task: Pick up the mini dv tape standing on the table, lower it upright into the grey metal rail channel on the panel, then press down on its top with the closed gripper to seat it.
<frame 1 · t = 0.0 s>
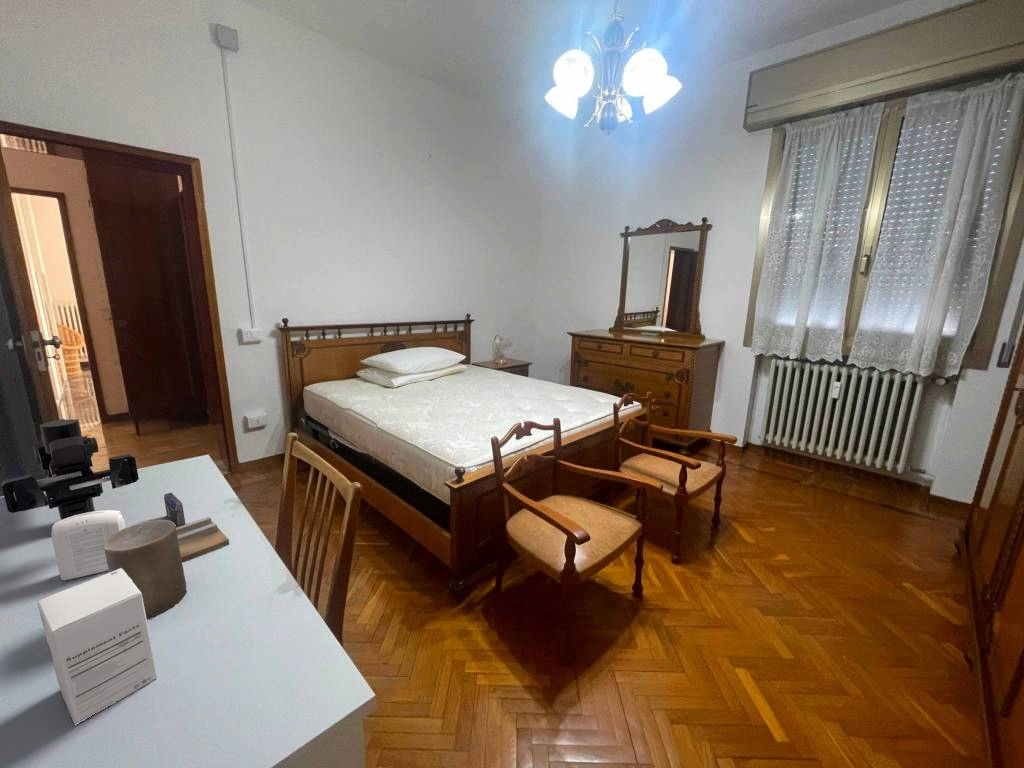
hand: (81, 494, 80), 17 cm above the table, tool horizontal, fingers open, 9 cm apart
supplement box: (110, 685, 60), on the table
pillar candle: (153, 601, 76), on the table
rail panel: (187, 543, 93), on the table
mini dv tape: (176, 521, 102), on the table
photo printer: (97, 570, 84), on the table
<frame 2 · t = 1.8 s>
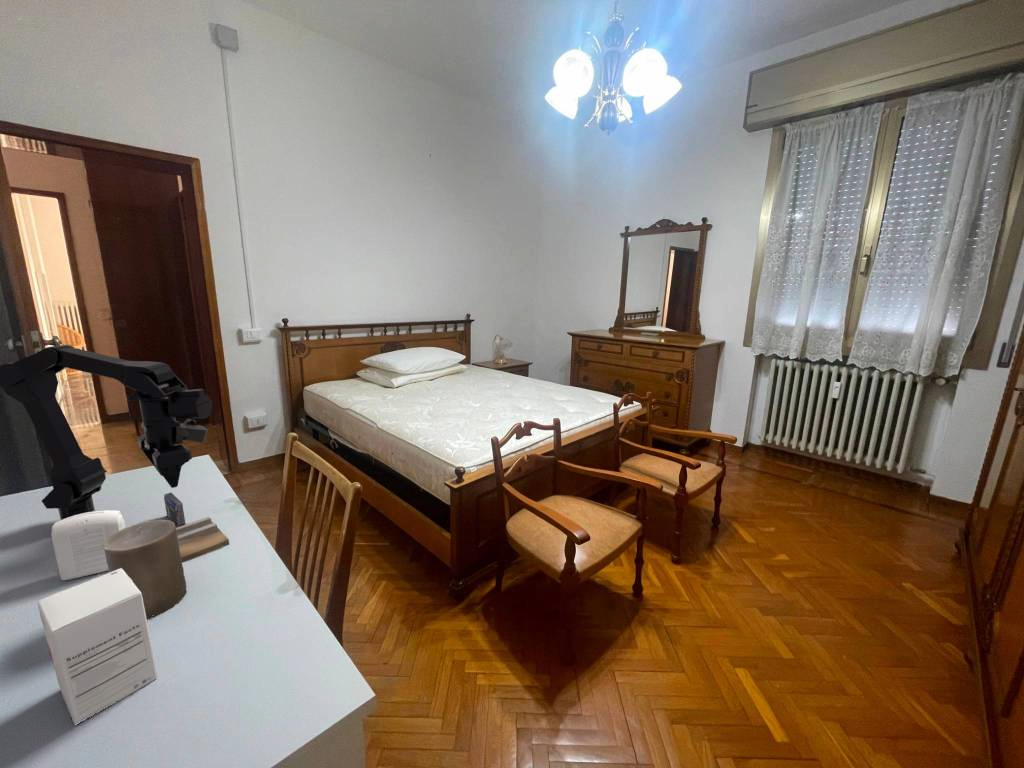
hand: (169, 481, 99), 11 cm above the table, tool pointing down, fingers open, 9 cm apart
nothing on the table moved.
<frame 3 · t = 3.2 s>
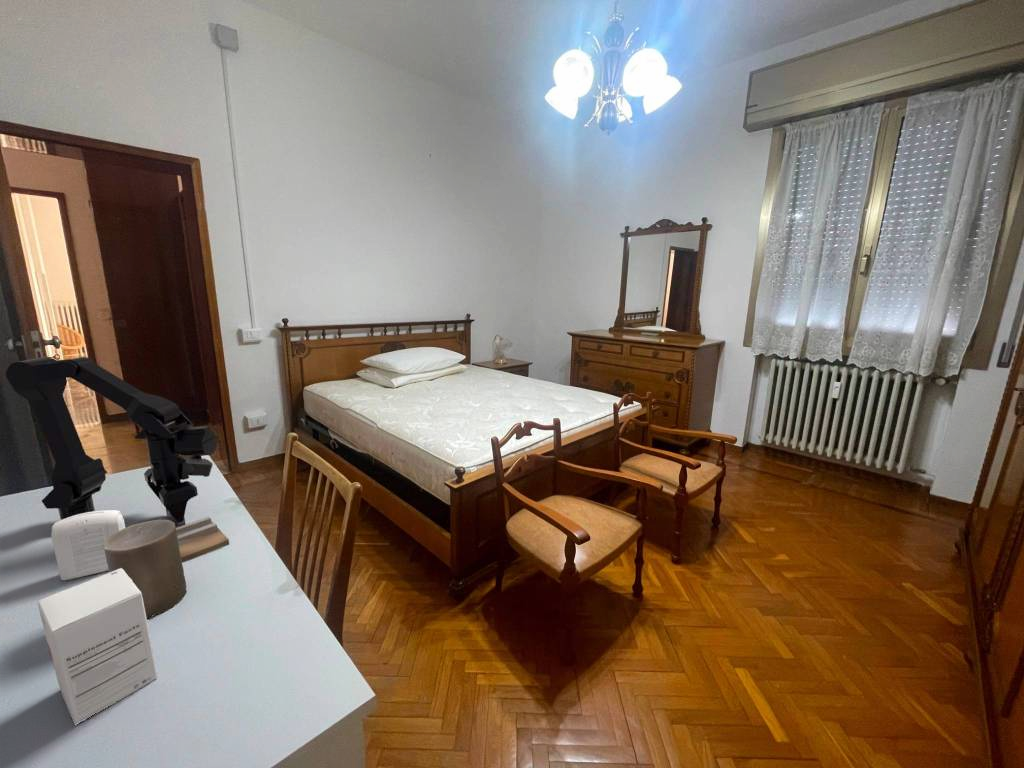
hand: (175, 515, 101), 2 cm above the table, tool pointing down, fingers closed on mini dv tape, 8 cm apart
mini dv tape: (176, 521, 102), on the table, touching gripper
everything else where it was.
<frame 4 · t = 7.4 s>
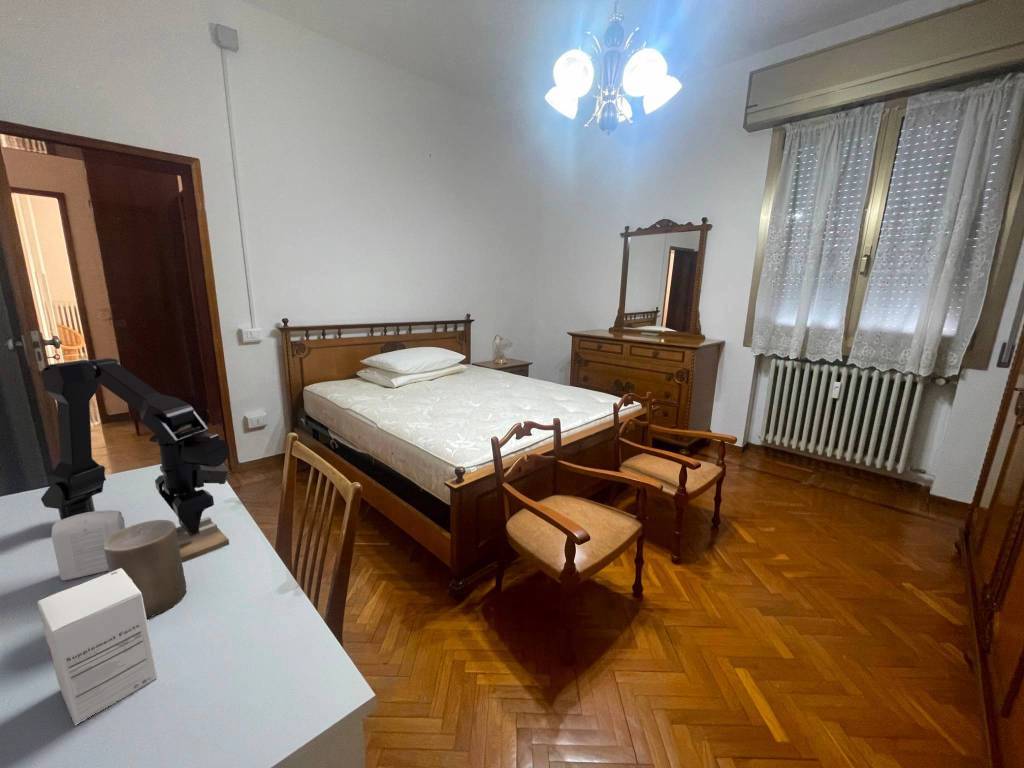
hand: (188, 526, 93), 4 cm above the table, tool pointing down, fingers closed on mini dv tape, 8 cm apart
mini dv tape: (189, 529, 94), point 3 cm above the table, touching gripper, rail panel
everything else where it was.
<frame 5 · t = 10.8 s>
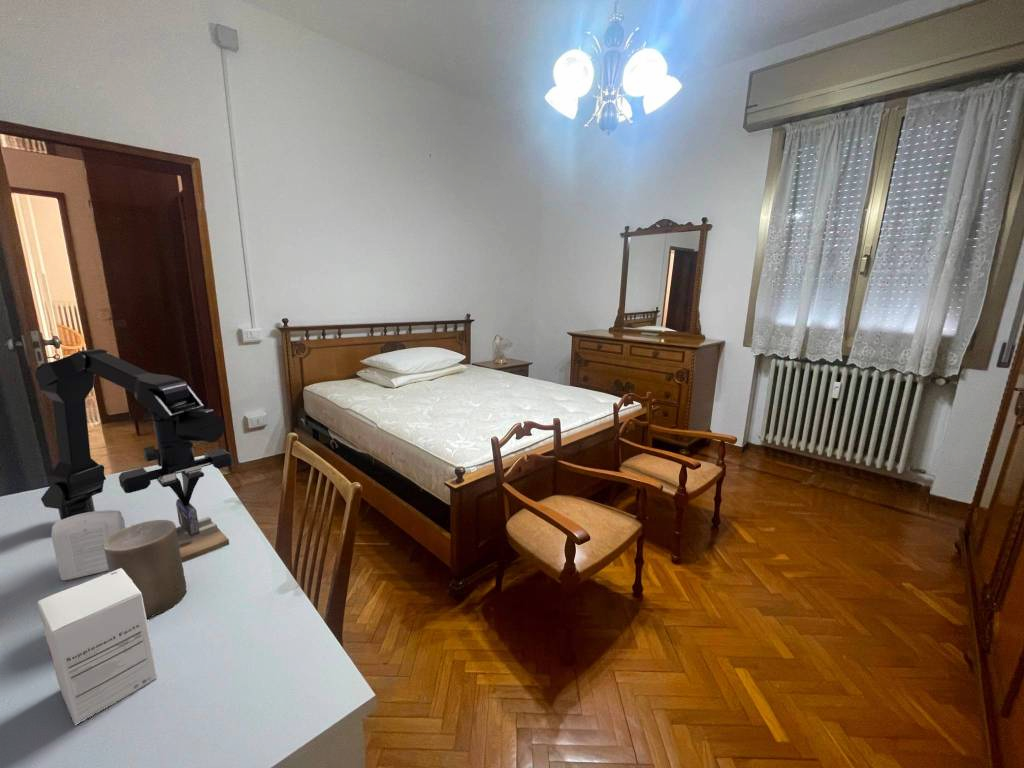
hand: (185, 504, 92), 9 cm above the table, tool pointing down, fingers closed, pressing on mini dv tape
mini dv tape: (189, 529, 94), point 3 cm above the table, touching gripper, rail panel
everything else where it was.
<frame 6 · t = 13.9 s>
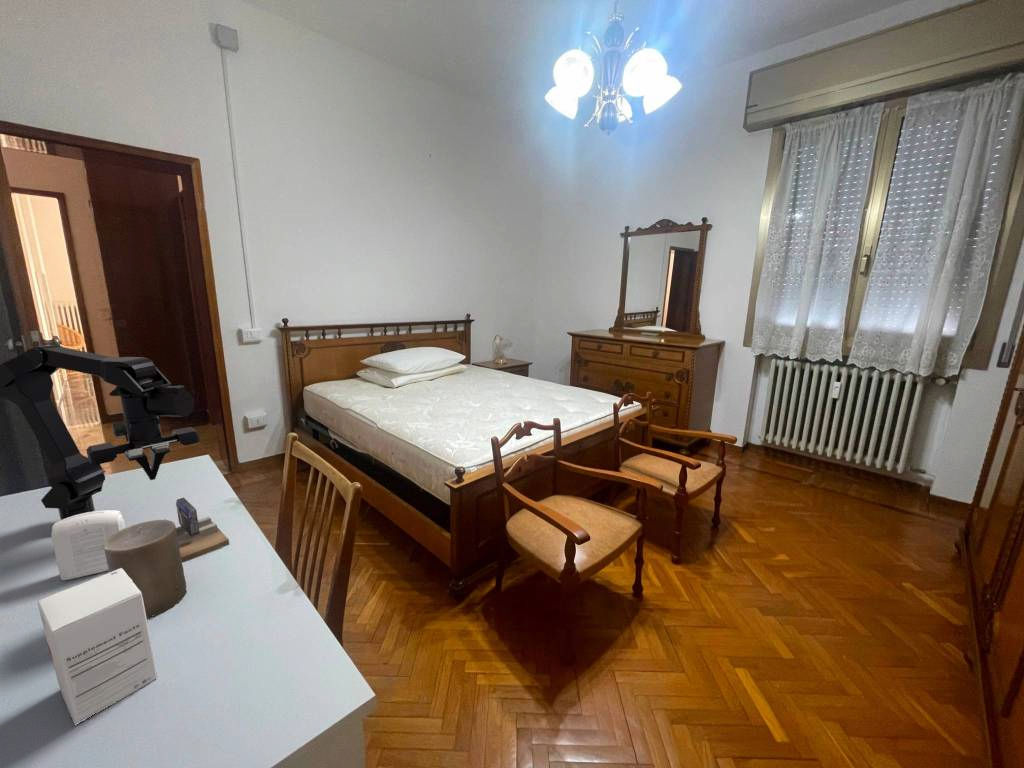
hand: (152, 479, 97), 12 cm above the table, tool pointing down, fingers closed
mini dv tape: (189, 529, 94), point 3 cm above the table, touching rail panel
everything else where it was.
at the end: mini dv tape 0.1 cm from the target spot on the rail panel, point 2.6 cm above the rail panel's base; mini dv tape tilted 0°; the gripper is holding nothing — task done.
